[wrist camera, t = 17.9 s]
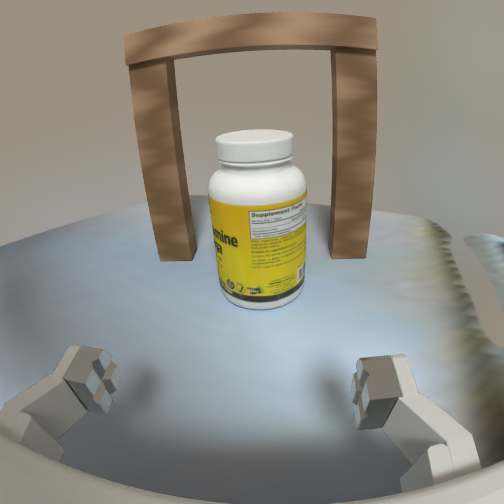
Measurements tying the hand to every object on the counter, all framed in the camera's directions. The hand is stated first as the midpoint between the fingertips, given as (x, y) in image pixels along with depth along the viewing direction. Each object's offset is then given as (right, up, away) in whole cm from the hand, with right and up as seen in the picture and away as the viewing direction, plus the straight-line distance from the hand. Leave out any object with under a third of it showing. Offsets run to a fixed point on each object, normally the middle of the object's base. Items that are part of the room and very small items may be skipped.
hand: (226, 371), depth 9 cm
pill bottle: (+2, +1, +14) cm, 14 cm away
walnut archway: (+2, +4, +18) cm, 19 cm away
